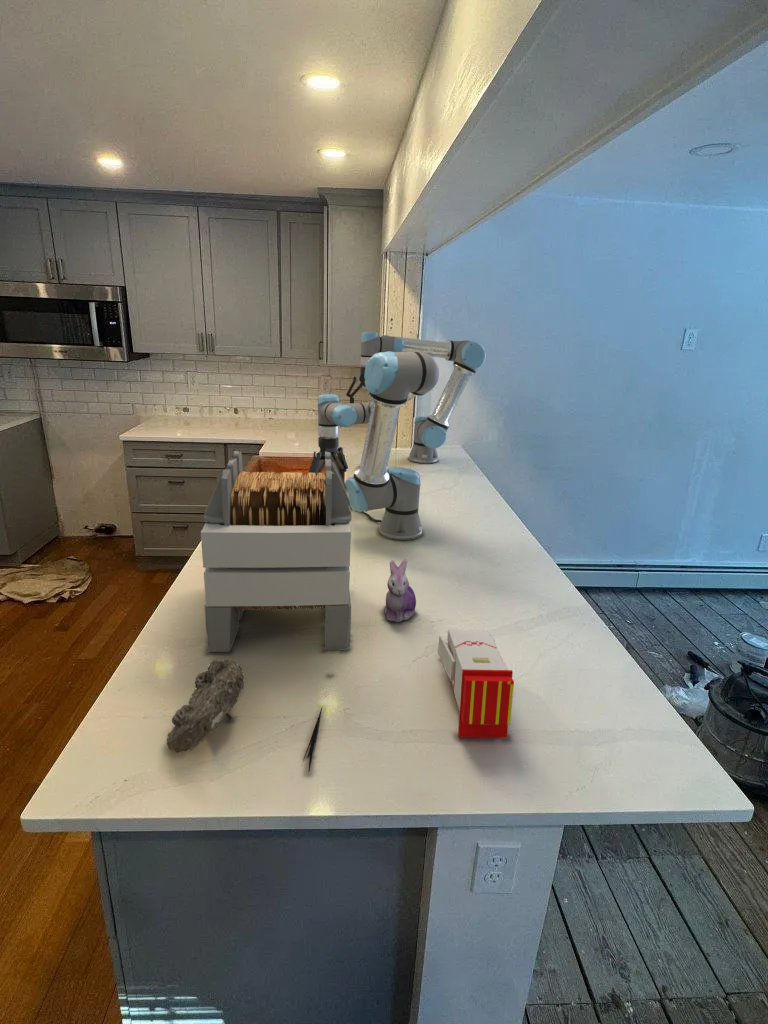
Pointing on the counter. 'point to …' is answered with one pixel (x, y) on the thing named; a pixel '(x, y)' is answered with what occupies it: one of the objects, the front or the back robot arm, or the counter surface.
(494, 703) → the toy
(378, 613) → the counter surface
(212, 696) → the fossil
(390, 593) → the figurine
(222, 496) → the transformer
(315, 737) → the feather
